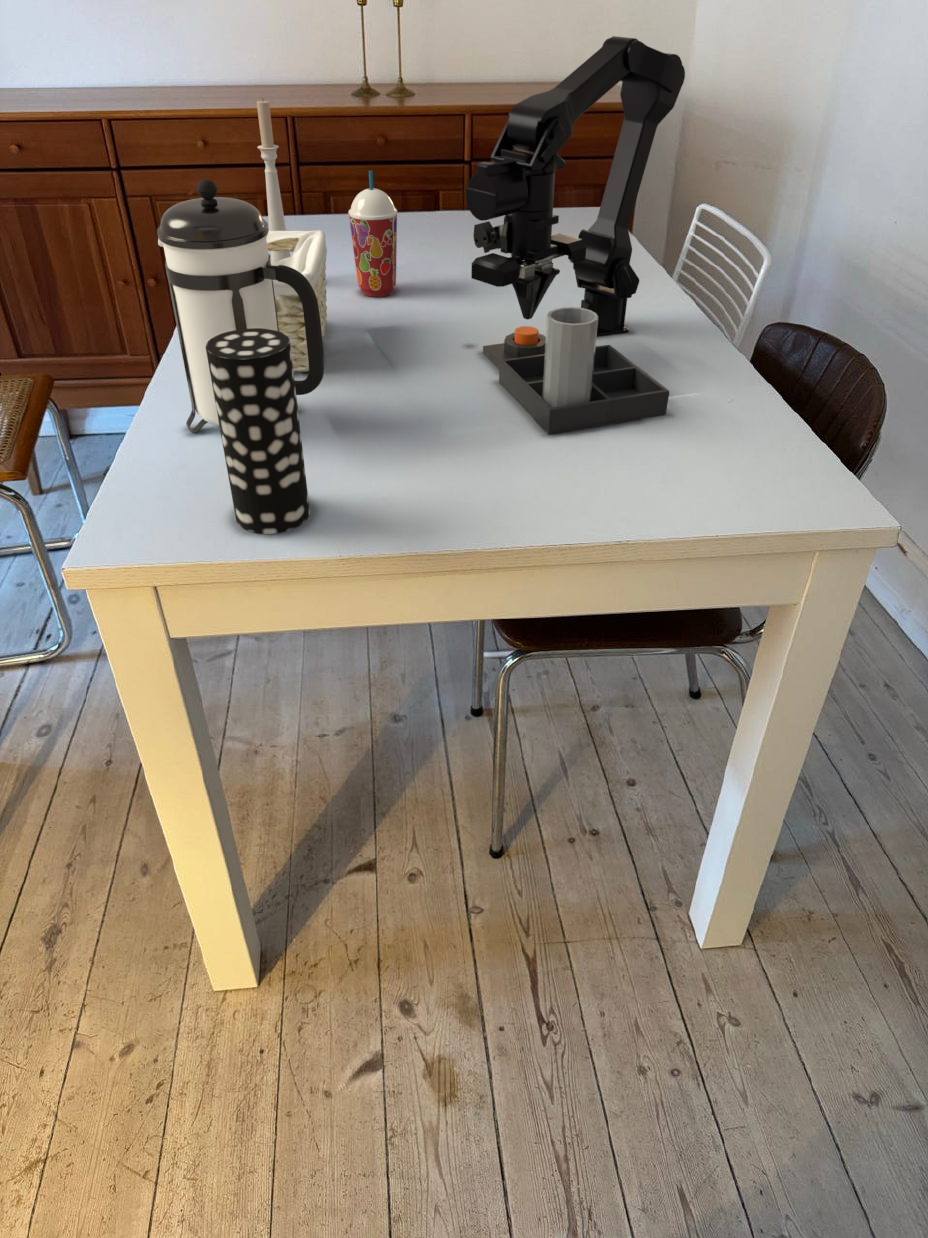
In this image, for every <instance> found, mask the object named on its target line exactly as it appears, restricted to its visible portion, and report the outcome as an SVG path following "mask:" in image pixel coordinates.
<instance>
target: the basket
mask: <svg viewBox="0 0 928 1238" xmlns="http://www.w3.org/2000/svg"><path fill="white" fill-rule="evenodd" d="M266 238H267V247H268V252H271V251H288V252H290V253H293V254H292V255H290V256H291V257H288V258H286V259H283V260H280V261H278V262H275V263H272V262H271V265H272V266H278V265H284V266H288V267H290V268H293V269H295V270H297V271H298V272H300V273H301V274H302V275H303V276H304V277H305V278H306V279H307V280H308V281H309V283H310V284H311V286H312V288H313V290H314V292H315V295H316V298H317V302H318V307H319V313H320V321H321V331H322V341H324V337H325V336H326V335H325V333H326V332H325V331H326V328H327V325H328V312H327V310H328V307H327V306H328V305H327V300H328V297H327V281H326V276H327V274H326V273H327V272H326V270H327V265H326V263H327V254H328V248H327V245H326V233H325V231H323V230H317V229H315V230H286V231H269V232H268V235H267V237H266ZM273 287H274V295H275V303H276V311H277V319H278V327H279V332H281V333H284V334H285V335H287V336H288V338H289V339H290V347H291V356H292V364H293V373H294V372H309V361H308V351H307V342H306V332H305V323H304V314H303V307H302V303H301V300H300V298H299V296H298V294H297V293H296V291H295V290H294V289H293V288H292V287H291V286H290V285H288V284H286V283H283V282H278V280H273Z"/></svg>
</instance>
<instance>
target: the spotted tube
mask: <svg viewBox="0 0 928 1238" xmlns="http://www.w3.org/2000/svg"><path fill="white" fill-rule="evenodd" d="M206 353H207V358H208V364H209V369H210V375H211V381H212V386H213V392H214V398H215V403H216V409H217V415H218V420H219V426H218V427H219V432H220V436H221V442H222V448H223V453H224V459H225V465H226V471H227V477H228V483H229V488H230V493H231V499H232V504H233V510H234V516H235V521H236V523H237V525H238V526H239V527H240V528H242V529H243V530H245V531H247V532H250V533H253V534H259V535H260V534H262V535H272V534H273V535H274V534H281V533H285V532H289V531H292V530H294V529H296V528H299V527H300V526H302V525H303V524H304V523H306V522H307V520H308V518H309V517H310V514H311V508H310V501H309V491H308V483H307V474H306V466H305V459H304V457H305V456H304V449H303V442H302V441H303V440H302V434H301V433H302V432H301V424H300V417H299V416H300V415H299V409H298V400H297V395H296V389H295V381H296V380H295V373H294V372H293V364H292V356H291V347H290V339H289V338H288V336H287V335H285V334H284V333H281V332H279V331H275V330H270V329H261V328H249V329H239V330H233V331H228V332H225V333H222V334H219V335H217V336H215V337H213V338H211V339H210V340H209V341H208V342H207V344H206ZM294 380H295V381H294Z"/></svg>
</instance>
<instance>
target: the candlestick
mask: <svg viewBox="0 0 928 1238" xmlns="http://www.w3.org/2000/svg"><path fill="white" fill-rule="evenodd" d="M256 109H257V117H258V124H259V133H260V141H261V144H260V145H258V146H257V149H258V150H259V151H260V153H261V154H260V158H261V159H262V160H263V162H264V164H265V169H264V174H265V189H266V190H265V191H266V201H267V202H266V203H267V214H268V215H267V216H268V229H269V231H287V226H286V221H285V220H286V219H285V215H284V214H285V213H284V207H283V201H282V196H281V190H280V189H281V188H280V183H279V178H278V177H279V176H278V169H277V168H276V160H277V158H278V154H277V150H278V148H280V146H279V145H277V144H274V143H275V142H274V135H273V124H272V115H271V108H270V101H268V100H264V98H262V100H258V101H256ZM291 256H292V255H291V252H288V251H270V257H271V263H275V262H278V261H280V260H283V259H286V258H288V257H291Z"/></svg>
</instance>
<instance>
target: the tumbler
mask: <svg viewBox="0 0 928 1238" xmlns="http://www.w3.org/2000/svg"><path fill="white" fill-rule="evenodd" d="M597 326H598V315H597V314H596V313H595V312H593V311H591V310H588V309H584V308H581V307H578V306H577V307H576V306H575V307H574V306H566V307H565V306H564V307H558V308H554V309H552V310H550V311H548V313H547V314H546V326H545V337H546V341H545V358H544V375H543V393H542V398H543V399H544V400H545V401H546V402H547V403H548V404H549V405H550V406H551V407H552V408H554V407H560V406H566V405H573V404H579V403H585V402H591V391H592V380H593V369H594V359H595V348H596V347H597V346H596V345H597V337H598V336H597Z"/></svg>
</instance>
